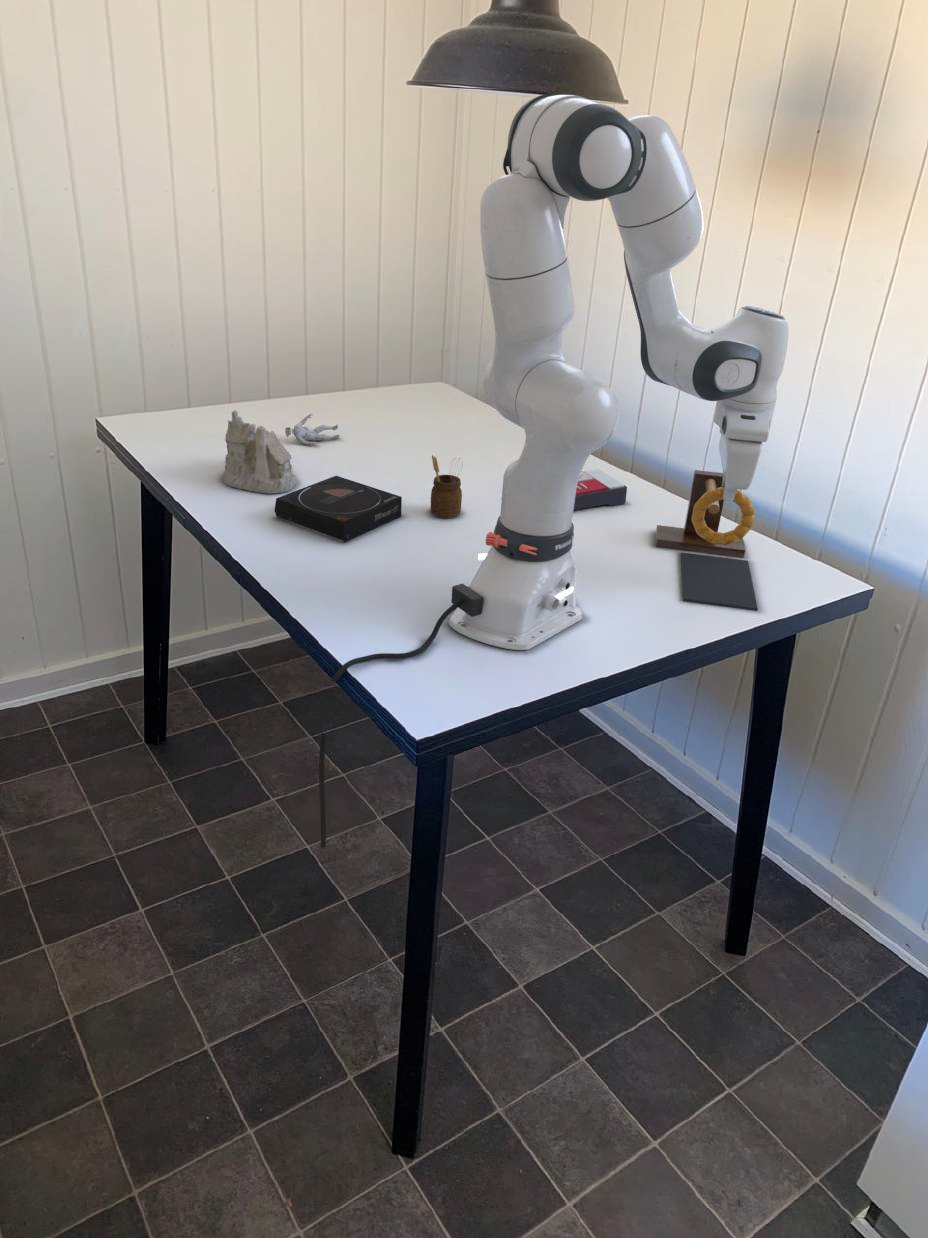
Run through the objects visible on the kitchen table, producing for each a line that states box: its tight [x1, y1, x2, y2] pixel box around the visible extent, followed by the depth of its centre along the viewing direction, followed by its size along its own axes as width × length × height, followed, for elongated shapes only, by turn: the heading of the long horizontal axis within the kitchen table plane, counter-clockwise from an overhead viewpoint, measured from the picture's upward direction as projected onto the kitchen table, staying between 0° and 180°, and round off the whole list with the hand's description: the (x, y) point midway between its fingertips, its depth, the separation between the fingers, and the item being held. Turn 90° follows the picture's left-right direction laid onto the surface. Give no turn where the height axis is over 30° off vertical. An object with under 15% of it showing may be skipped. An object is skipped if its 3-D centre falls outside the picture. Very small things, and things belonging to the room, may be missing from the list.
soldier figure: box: [284, 413, 340, 446], centre depth 216 cm, size 8×5×12 cm
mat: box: [680, 551, 759, 611], centre depth 165 cm, size 19×12×1 cm, turn 170°
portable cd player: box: [273, 475, 403, 544], centre depth 179 cm, size 16×17×4 cm
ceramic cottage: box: [222, 409, 297, 495], centre depth 193 cm, size 16×16×15 cm
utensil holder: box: [430, 454, 464, 519], centre depth 182 cm, size 6×6×12 cm
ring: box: [692, 487, 756, 545], centre depth 159 cm, size 10×2×10 cm, turn 80°
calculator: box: [573, 468, 628, 511], centre depth 195 cm, size 11×4×15 cm
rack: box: [655, 469, 746, 558], centre depth 171 cm, size 16×16×14 cm
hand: (727, 495), depth 157 cm, fingers closed on ring, 2 cm apart
